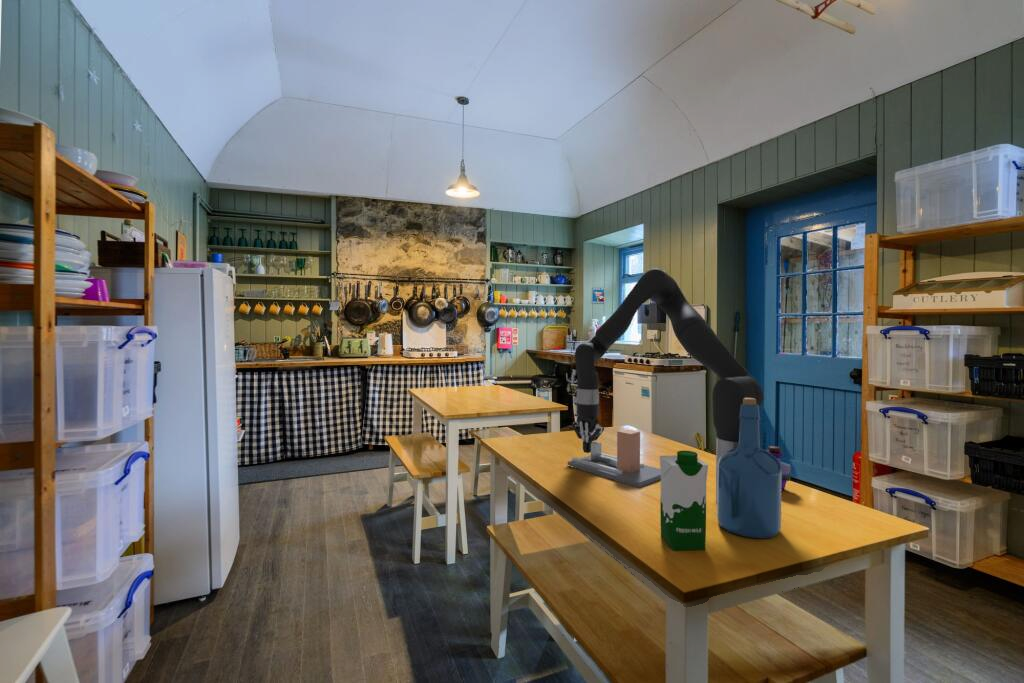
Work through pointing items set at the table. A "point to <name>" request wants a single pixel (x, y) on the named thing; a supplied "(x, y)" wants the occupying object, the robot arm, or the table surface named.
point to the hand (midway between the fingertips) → (587, 452)
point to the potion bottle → (784, 467)
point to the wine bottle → (749, 482)
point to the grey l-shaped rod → (601, 458)
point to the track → (618, 471)
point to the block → (628, 450)
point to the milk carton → (683, 501)
